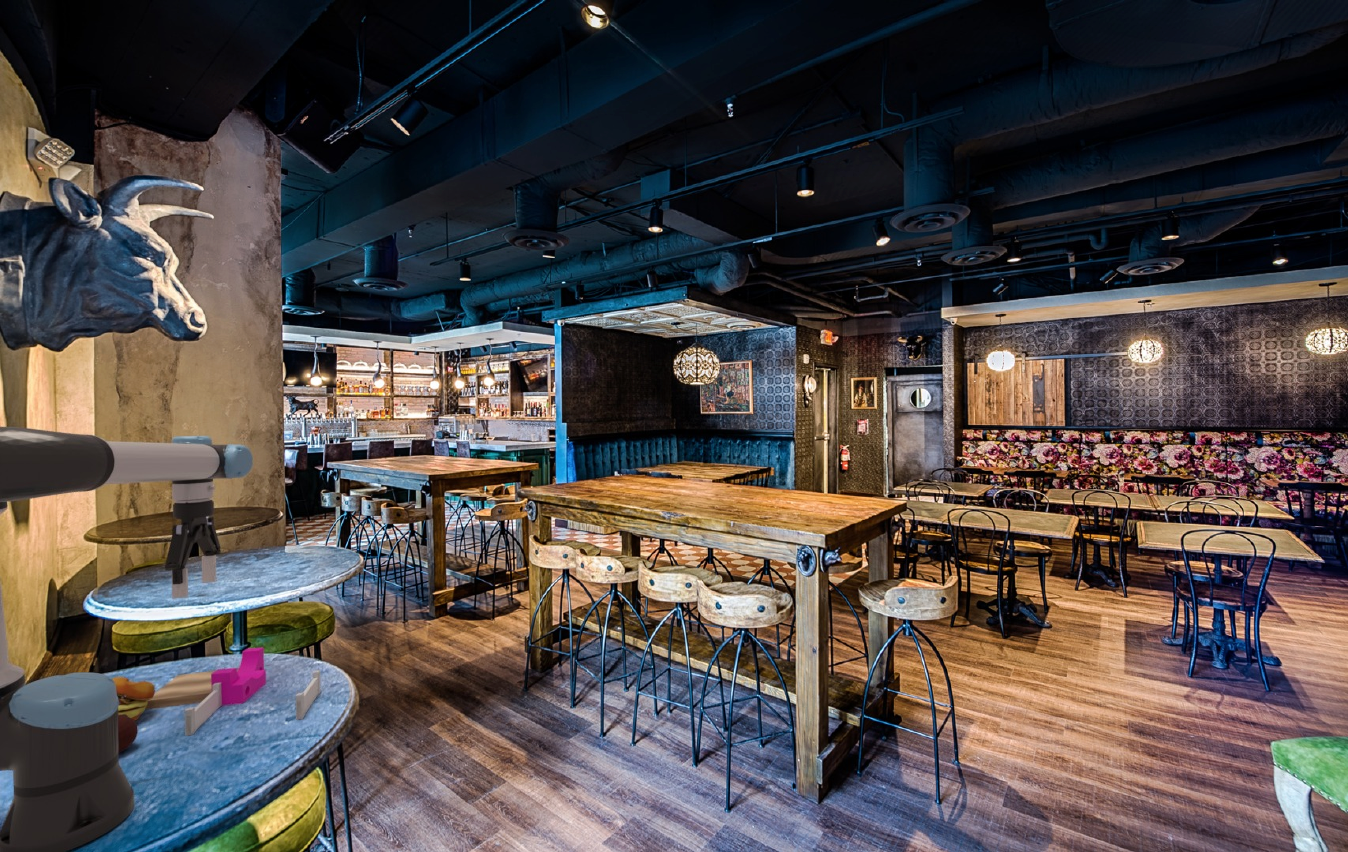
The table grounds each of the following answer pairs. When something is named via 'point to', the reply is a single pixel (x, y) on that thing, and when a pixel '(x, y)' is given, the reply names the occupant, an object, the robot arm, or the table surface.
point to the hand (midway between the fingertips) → (195, 589)
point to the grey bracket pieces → (214, 701)
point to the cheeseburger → (133, 696)
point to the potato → (126, 732)
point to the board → (183, 690)
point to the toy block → (241, 677)
